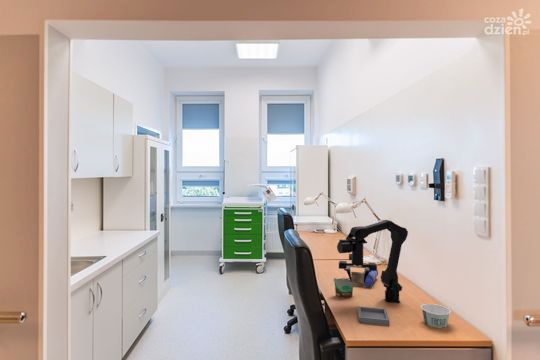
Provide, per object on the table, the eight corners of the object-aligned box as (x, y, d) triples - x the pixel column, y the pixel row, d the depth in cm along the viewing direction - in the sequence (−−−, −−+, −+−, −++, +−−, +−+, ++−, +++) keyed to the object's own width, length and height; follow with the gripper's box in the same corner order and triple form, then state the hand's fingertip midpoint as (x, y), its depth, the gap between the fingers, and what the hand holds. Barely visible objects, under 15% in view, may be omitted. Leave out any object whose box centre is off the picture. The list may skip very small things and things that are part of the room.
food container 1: (338, 299, 173) (338, 281, 173) (333, 295, 179) (333, 277, 179) (359, 297, 176) (359, 279, 176) (353, 293, 182) (353, 275, 182)
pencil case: (364, 276, 214) (365, 262, 213) (378, 278, 210) (378, 264, 210) (358, 287, 194) (358, 271, 194) (373, 289, 190) (373, 273, 190)
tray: (385, 313, 155) (385, 308, 155) (389, 325, 143) (389, 320, 143) (357, 311, 158) (357, 306, 158) (358, 322, 146) (358, 317, 146)
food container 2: (441, 317, 152) (441, 303, 152) (456, 329, 140) (456, 314, 140) (415, 317, 151) (415, 303, 151) (429, 329, 139) (429, 314, 139)
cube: (363, 284, 168) (363, 272, 168) (363, 287, 163) (363, 275, 163) (351, 283, 170) (351, 271, 170) (351, 286, 164) (351, 275, 164)
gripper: (375, 249, 172) (375, 279, 172) (339, 247, 176) (339, 276, 176) (377, 254, 161) (377, 285, 161) (338, 252, 165) (338, 282, 165)
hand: (357, 282), depth 166 cm, fingers closed on cube, 6 cm apart
